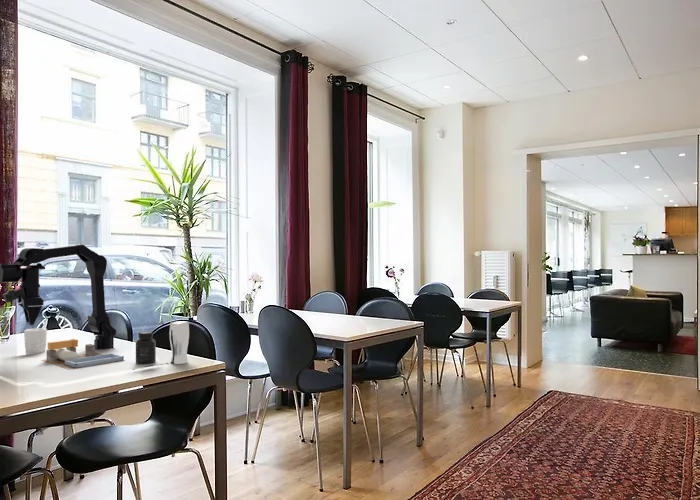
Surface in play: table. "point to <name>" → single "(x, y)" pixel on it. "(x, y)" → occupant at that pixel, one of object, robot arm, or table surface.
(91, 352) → the board
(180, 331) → the beer glass
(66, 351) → the off-white cylinder
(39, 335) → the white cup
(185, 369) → the table surface
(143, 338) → the supplement bottle
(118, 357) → the tray
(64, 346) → the tie bar
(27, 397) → the table surface
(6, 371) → the table surface
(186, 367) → the table surface
